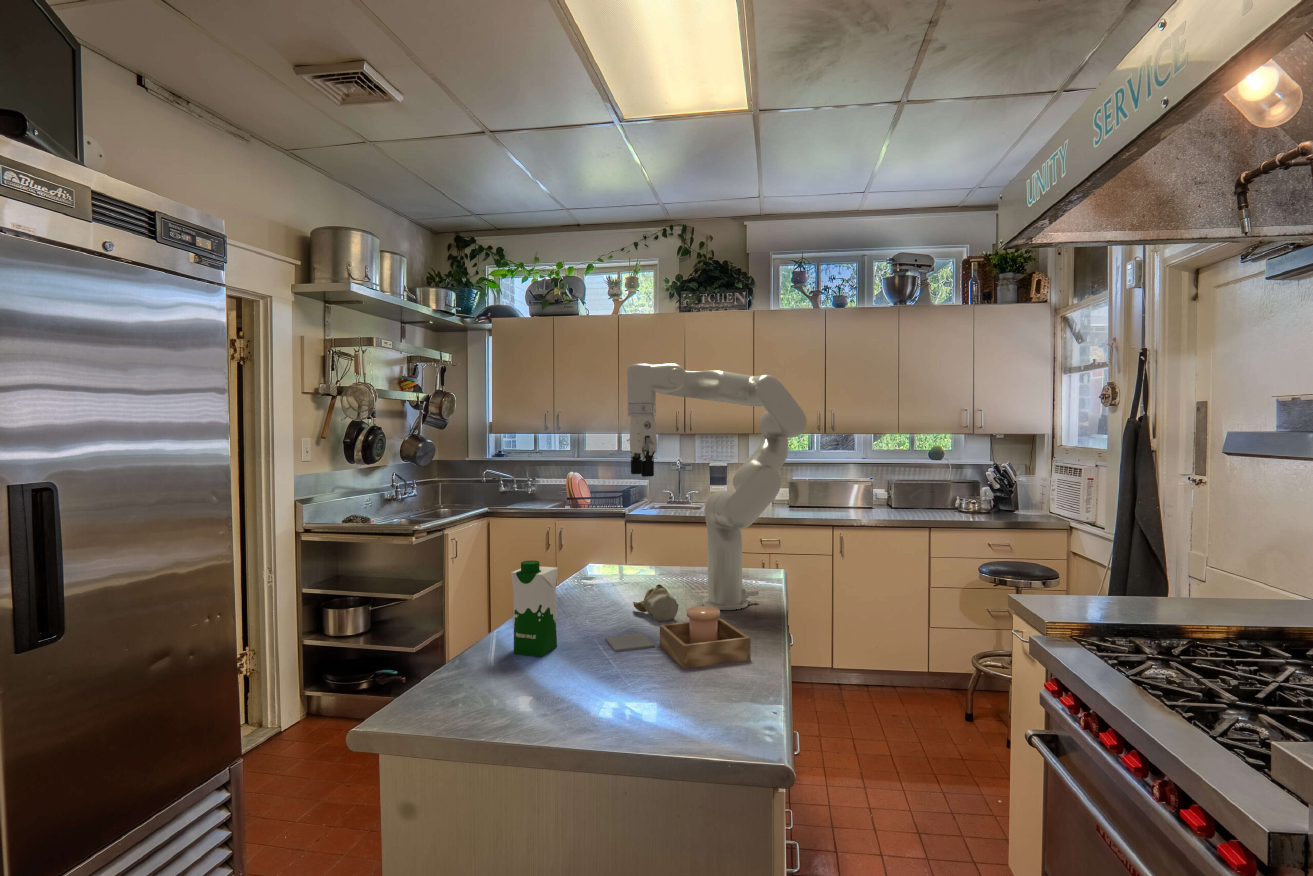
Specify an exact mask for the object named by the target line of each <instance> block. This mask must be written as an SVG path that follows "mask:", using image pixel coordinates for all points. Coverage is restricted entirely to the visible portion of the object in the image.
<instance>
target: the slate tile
mask: <svg viewBox="0 0 1313 876" xmlns="http://www.w3.org/2000/svg"><path fill="white" fill-rule="evenodd" d="M605 642H607V643H608V644H609V646H610V647H611V648H612V650H613V651H614V652H615V653H620V652H627V651H629V652H630V651H636V650H637V651H638V650H644V649H645V650H646V649H652V648H656V645H655V643H653V642H652V640H650V639H649V638H648V637H647V636H646V635H645V634H644V633H643V632H641V633H640V632H639V633H633V634H624V635H623V634H621V635H614V636H606V637H605Z"/></svg>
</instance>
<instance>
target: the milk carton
mask: <svg viewBox="0 0 1313 876" xmlns="http://www.w3.org/2000/svg"><path fill="white" fill-rule="evenodd" d="M558 571H559V567H555V566H554V567H553V566H541V565H540V561H539V560H524V561H521V562H520V568H518V569H517V570H516V569H515V570H514V571H511V572H510V576H511V582H512V589H513V591H512V593H513V654H514V655H515V654H516V655H521V656H522V655H523V656H531V657H539V658H540V657H541V658H542V657H543V656H545V655H547V654H549V653H550V652H551V651H553V650H554V649H556V648H557V647H558V640H557V639H558V638H557V578H558Z"/></svg>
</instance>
